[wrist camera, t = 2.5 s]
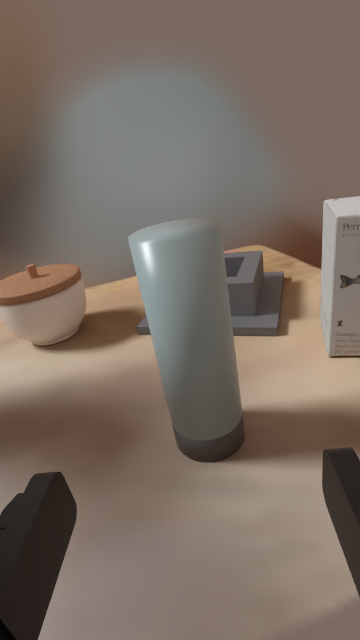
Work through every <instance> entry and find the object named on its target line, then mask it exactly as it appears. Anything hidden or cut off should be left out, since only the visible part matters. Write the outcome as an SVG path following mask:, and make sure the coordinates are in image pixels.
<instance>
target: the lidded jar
mask: <svg viewBox="0 0 360 640" xmlns="http://www.w3.org/2000/svg"><path fill="white" fill-rule="evenodd" d="M26 269H27V270H26V271H24V272H20V273H17V274H15V275H12V276H10V277H8V278H5V279H3V280H2V281H0V317H1V319H2V320H3V322H4V323H5V325H6V326H7V327H8V328H9V330H11V331H12V332H13V333H14V334H15V335H17V336H18V337H20V338H22V339H24V340H27V341H30V342H32V343H33V344H34V345H38V346H46V345H52V344H56V343H59V342H62V341H64V340H66V339H68V338H70V337H71V336H73V335H74V334H75V333H76V332H77V331H78V329H79V325H80V323H81V322H82V320H83V318H84V315H85V311H86V295H85V289H84V285H83V281H82V278H81V272H80V269H79V267H78V266H76V265H73V264H53V265H48V266H42V267H38V268H36V267H35V265H34V264H31V265H27V266H26Z"/></svg>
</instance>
